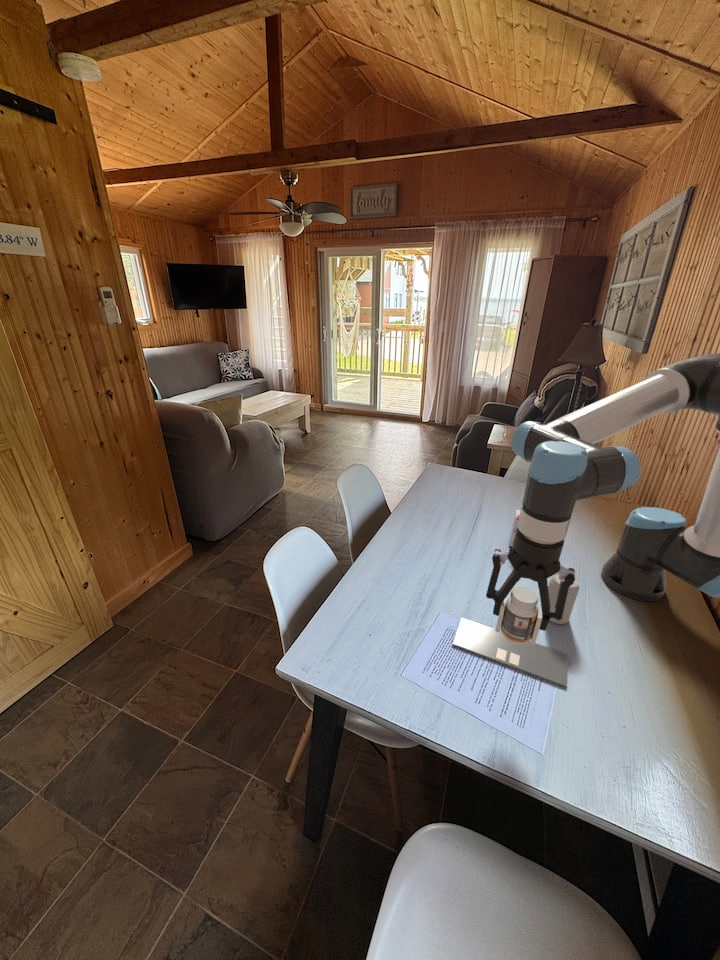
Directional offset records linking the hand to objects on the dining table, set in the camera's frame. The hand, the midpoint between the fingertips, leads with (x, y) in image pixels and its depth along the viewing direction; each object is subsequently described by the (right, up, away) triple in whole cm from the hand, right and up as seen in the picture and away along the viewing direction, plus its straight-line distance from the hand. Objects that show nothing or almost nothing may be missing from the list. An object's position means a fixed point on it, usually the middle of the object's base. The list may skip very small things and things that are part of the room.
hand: (515, 632), depth 76 cm
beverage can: (+19, -5, +24) cm, 31 cm away
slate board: (+4, -10, +14) cm, 17 cm away
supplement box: (+22, +8, +52) cm, 57 cm away
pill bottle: (0, 0, 0) cm, 1 cm away
